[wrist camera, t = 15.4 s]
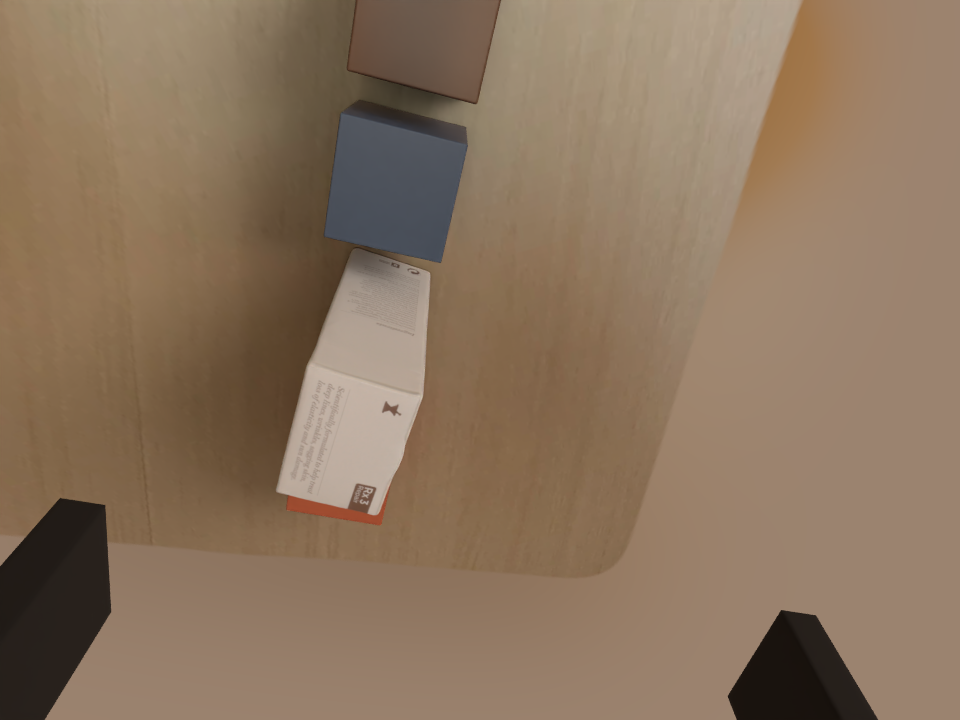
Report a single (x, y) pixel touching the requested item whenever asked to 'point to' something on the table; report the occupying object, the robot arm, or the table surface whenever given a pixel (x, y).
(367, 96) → the table surface
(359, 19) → the walnut block
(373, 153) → the slate blue block
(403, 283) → the cosmetic box
